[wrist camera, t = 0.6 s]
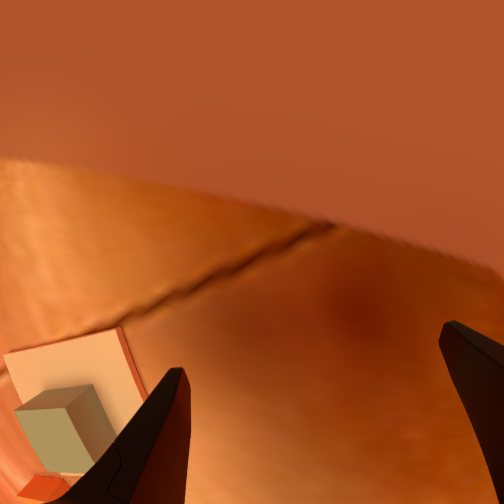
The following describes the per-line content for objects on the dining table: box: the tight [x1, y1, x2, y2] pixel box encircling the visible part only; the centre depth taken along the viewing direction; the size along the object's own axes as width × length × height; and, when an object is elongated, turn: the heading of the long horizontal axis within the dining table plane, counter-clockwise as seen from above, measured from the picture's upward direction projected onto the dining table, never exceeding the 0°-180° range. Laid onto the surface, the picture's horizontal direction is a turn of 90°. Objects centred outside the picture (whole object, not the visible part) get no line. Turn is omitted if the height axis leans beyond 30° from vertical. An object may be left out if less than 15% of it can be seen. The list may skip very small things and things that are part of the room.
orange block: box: [17, 476, 70, 504], centre depth 20 cm, size 5×5×5 cm
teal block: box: [14, 384, 117, 474], centre depth 19 cm, size 6×6×5 cm
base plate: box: [3, 326, 147, 476], centre depth 22 cm, size 14×14×1 cm
